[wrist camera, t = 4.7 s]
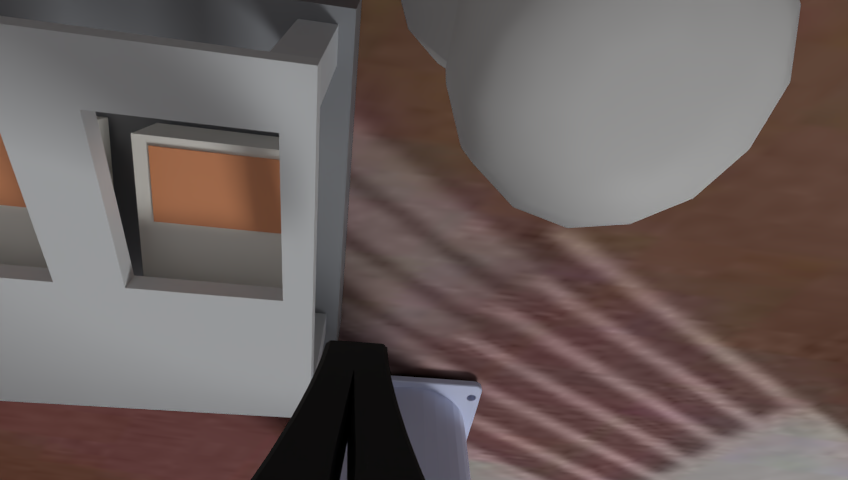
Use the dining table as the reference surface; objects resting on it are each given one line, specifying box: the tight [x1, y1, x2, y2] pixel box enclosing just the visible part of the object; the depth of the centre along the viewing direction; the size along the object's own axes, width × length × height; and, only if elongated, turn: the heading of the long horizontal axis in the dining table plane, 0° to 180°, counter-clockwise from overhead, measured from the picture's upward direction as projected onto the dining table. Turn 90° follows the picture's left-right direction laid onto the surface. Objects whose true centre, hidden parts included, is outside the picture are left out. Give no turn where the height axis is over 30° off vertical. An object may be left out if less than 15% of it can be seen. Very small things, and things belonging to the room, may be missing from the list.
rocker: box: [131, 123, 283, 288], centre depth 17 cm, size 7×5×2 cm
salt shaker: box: [401, 0, 801, 228], centre depth 11 cm, size 6×6×13 cm
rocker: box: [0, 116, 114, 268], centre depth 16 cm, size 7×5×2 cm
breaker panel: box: [0, 0, 362, 418], centre depth 17 cm, size 15×14×7 cm
